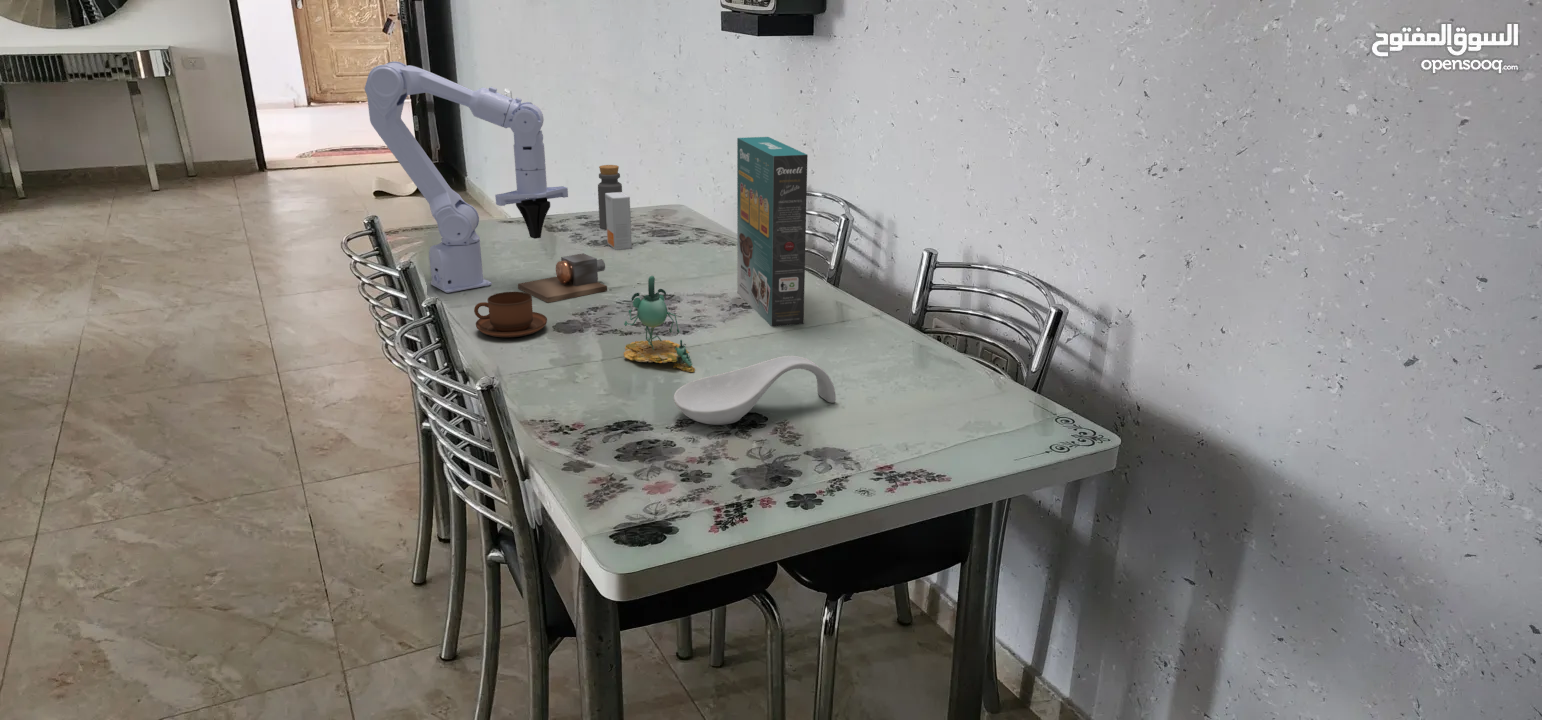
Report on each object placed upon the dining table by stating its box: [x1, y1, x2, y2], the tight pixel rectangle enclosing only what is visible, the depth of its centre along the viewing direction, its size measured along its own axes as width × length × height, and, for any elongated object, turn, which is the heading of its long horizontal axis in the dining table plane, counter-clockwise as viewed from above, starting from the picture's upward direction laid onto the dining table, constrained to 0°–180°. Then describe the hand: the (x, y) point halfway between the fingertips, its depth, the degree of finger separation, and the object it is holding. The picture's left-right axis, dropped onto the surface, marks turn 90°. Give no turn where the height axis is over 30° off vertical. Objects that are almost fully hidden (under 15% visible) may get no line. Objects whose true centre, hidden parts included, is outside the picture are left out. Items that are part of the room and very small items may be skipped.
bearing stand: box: [517, 253, 608, 304], centre depth 198 cm, size 13×12×6 cm
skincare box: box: [605, 191, 633, 251], centre depth 230 cm, size 6×4×12 cm
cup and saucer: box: [473, 291, 548, 338], centre depth 175 cm, size 12×12×6 cm
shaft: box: [555, 258, 606, 284], centre depth 201 cm, size 9×4×4 cm, turn 130°
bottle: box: [597, 164, 623, 230], centre depth 248 cm, size 6×6×15 cm
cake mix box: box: [736, 136, 808, 328], centre depth 185 cm, size 22×6×30 cm, turn 18°
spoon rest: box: [673, 355, 837, 426], centre depth 143 cm, size 24×12×7 cm, turn 115°
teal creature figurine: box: [623, 275, 696, 373], centre depth 162 cm, size 10×18×15 cm, turn 31°
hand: (535, 237), depth 200 cm, fingers closed
